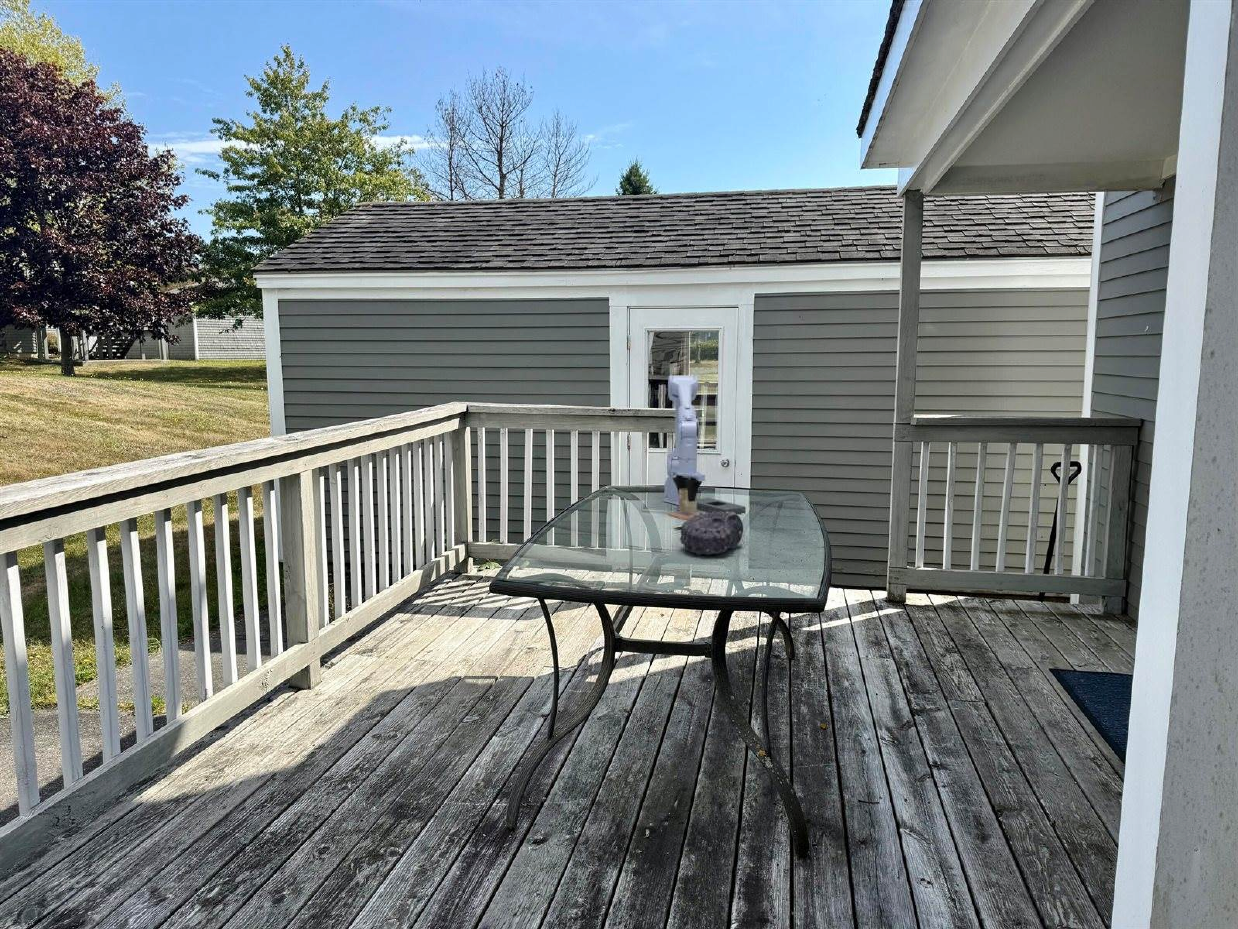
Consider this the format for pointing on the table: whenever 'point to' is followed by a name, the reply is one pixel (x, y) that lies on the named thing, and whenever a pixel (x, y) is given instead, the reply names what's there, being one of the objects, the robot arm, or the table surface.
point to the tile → (683, 514)
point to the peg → (686, 501)
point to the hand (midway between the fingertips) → (687, 500)
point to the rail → (718, 506)
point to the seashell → (712, 532)
